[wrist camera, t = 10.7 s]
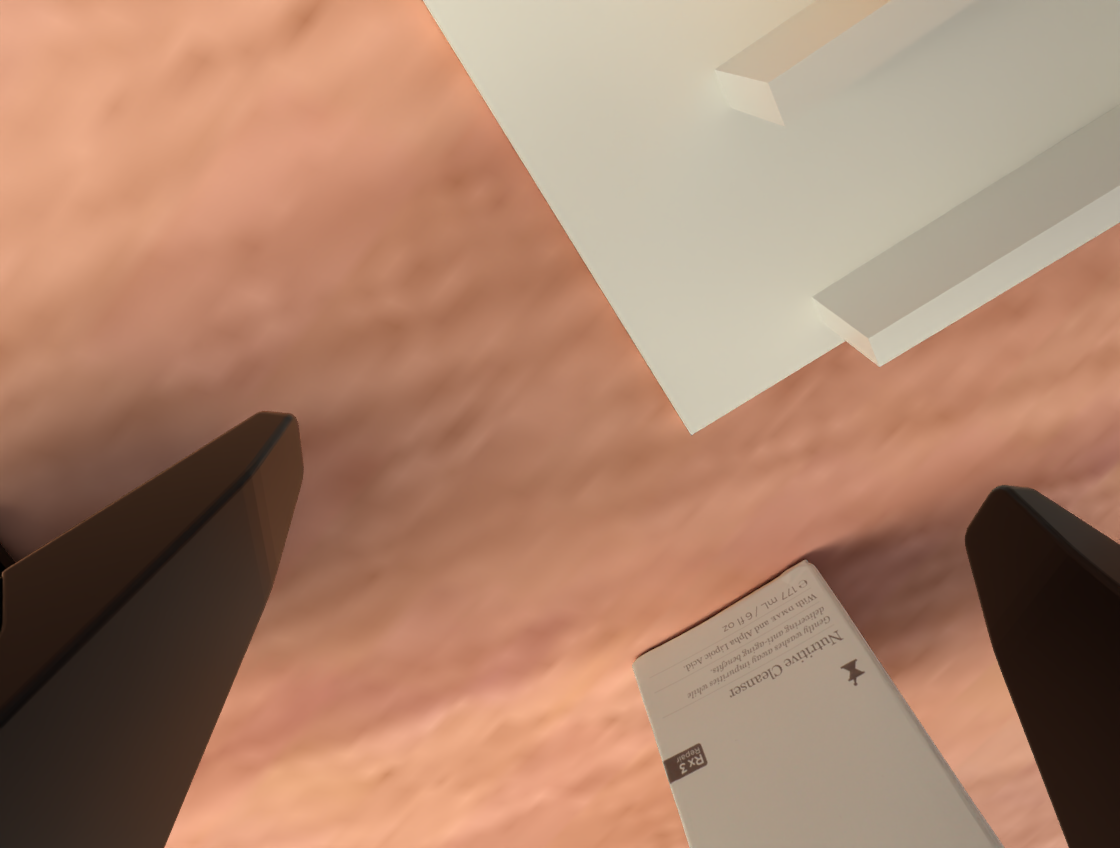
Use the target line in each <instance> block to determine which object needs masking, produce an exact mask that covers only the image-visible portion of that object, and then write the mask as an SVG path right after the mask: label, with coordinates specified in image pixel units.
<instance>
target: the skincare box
mask: <svg viewBox="0 0 1120 848" xmlns="http://www.w3.org/2000/svg"><path fill="white" fill-rule="evenodd" d="M632 667H633V671H634V674H635V677H636V680H637V683H638V687H639V690H640V693H641V696H642V699H643V702H644V705H645V708H646V711H647V714H648V717H649V721H650V724H651V727H652V730H653V733H654V736H655V740H656V743H657V747H658V750H659V753H660V756H661V759H662V762H663V766H664V769H665V772H666V775H667V778H668V781H669V784H670V787H671V790H672V794H673V797H674V800H675V803H676V806H677V809H678V812H679V815H680V818H681V821H682V825H683V828H684V831H685V834H686V837H687V841H688V844H689V847H690V848H1005V847H1004V846H1003V845H1002V843H1001V842H1000V840H999V839H998V837H997V836H996V834H995V833H994V831H993V830H992V829H991V827H990V826H989V824H988V823H987V821H986V820H985V818H984V817H983V815H982V814H981V813H980V811H979V810H978V808H977V807H976V805H975V804H974V802H973V801H972V799H971V798H970V796H969V795H968V793H967V792H966V790H965V789H964V787H963V786H962V784H961V783H960V781H959V780H958V778H957V777H956V775H955V774H954V772H953V771H952V769H951V768H950V766H949V765H948V763H947V762H946V760H945V759H944V757H943V756H942V754H941V753H940V751H939V750H938V748H937V747H936V745H935V744H934V742H933V741H932V739H931V738H930V736H929V735H928V733H927V732H926V730H925V729H924V727H923V726H922V724H921V723H920V721H919V720H918V718H917V717H916V715H915V714H914V712H913V711H912V710H911V708H910V707H909V705H908V704H907V702H906V701H905V699H904V698H903V696H902V695H901V693H900V692H899V690H898V689H897V687H896V686H895V684H894V683H893V681H892V680H891V678H890V677H889V675H888V674H887V672H886V671H885V669H884V668H883V666H882V665H881V663H880V662H879V660H878V659H877V657H876V656H875V654H874V652H873V651H872V649H871V648H870V646H869V645H868V643H867V642H866V640H865V639H864V637H863V636H862V634H861V633H860V631H859V630H858V628H857V627H856V625H855V624H854V622H853V621H852V619H851V618H850V616H849V615H848V613H847V612H846V610H845V609H844V607H843V606H842V604H841V603H840V601H839V600H838V598H837V597H836V595H835V594H834V593H833V591H832V590H831V588H830V587H829V585H828V584H827V582H826V581H825V580H824V578H823V577H822V575H821V574H820V572H819V571H818V569H817V568H816V567H815V566H814V565H813V564H811V563H809V562H808V561H807V560H803V561H802V562H800V563H798V564H796V565H794V566H793V567H791V568H789V569H787V570H786V571H784V572H783V573H782V574H781V575H780V576H779V577H777V578H776V579H774V580H772V581H771V582H769V583H767V584H766V585H764V586H762V587H761V588H759V589H758V590H756V591H754V592H753V593H751V594H749V595H748V596H746V597H744V598H743V599H741V600H739V601H738V602H736V603H735V604H733V605H731V606H730V607H728V608H726V609H725V610H723V611H721V612H720V613H718V614H717V615H715V616H713V617H712V618H710V619H708V620H707V621H705V622H703V623H701V624H700V625H698V626H696V627H694V628H693V629H691V630H689V631H687V632H685V633H683V634H682V635H680V636H678V637H676V638H674V639H672V640H670V641H668V642H667V643H665V644H663V645H661V646H659V647H657V648H655V649H653V650H651V651H649V652H647V653H645V654H644V655H642V656H640V657H639V658H637V659H636V660H635V662H634V663H633V665H632Z"/></svg>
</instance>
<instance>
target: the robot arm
mask: <svg viewBox="0 0 1120 848" xmlns="http://www.w3.org/2000/svg"><path fill="white" fill-rule="evenodd" d="M303 468H304V466H303V457H302V449H301V441H300V433H299V425H298V421H297V419H296V417H295V416H294V415H292V414H290V413H281V412H271V411H261V412H258V413H256V414H255V415H253V416H251V417H250V418H248V419H247V420H245V421H243V422H242V423H240V424H239V425H237V426H235V427H234V428H232V429H230V430H229V431H227V432H226V433H224V434H222V435H221V436H219V437H218V438H216V439H214V440H213V441H211V442H210V443H208V444H206V445H205V446H203V447H202V448H200V449H198V450H197V451H195V452H194V453H192V454H190V455H189V456H187V457H186V458H184V459H182V460H181V461H179V462H177V463H176V464H174V465H173V466H171V467H169V468H168V469H166V470H165V471H163V472H161V473H160V474H158V475H157V476H155V477H153V478H152V479H150V480H149V481H147V482H145V483H144V484H142V485H141V486H139V487H137V488H136V489H134V490H132V491H131V492H129V493H128V494H126V495H124V496H123V497H121V498H120V499H118V500H116V501H115V502H113V503H112V504H110V505H108V506H107V507H105V508H104V509H102V510H100V511H99V512H97V513H96V514H94V515H92V516H91V517H89V518H87V519H86V520H84V521H83V522H81V523H79V524H78V525H76V526H75V527H73V528H71V529H70V530H68V531H67V532H65V533H63V534H62V535H60V536H59V537H57V538H55V539H54V540H52V541H51V542H49V543H47V544H46V545H44V546H43V547H41V548H39V549H38V550H36V551H34V552H33V553H31V554H30V555H28V556H26V557H25V558H23V559H22V560H20V561H18V562H17V563H15V562H14V561H13V560H12V558H11V557H10V556H9V554H8V553H7V552H6V550H5V549H4V548H3V546H2V545H1V544H0V848H164V847H165V845H166V842H167V840H168V837H169V835H170V833H171V830H172V828H173V826H174V823H175V821H176V818H177V816H178V814H179V811H180V809H181V806H182V804H183V802H184V799H185V797H186V794H187V792H188V790H189V787H190V785H191V782H192V780H193V778H194V775H195V773H196V770H197V768H198V766H199V763H200V761H201V758H202V756H203V754H204V751H205V749H206V746H207V744H208V742H209V739H210V737H211V735H212V732H213V730H214V727H215V725H216V723H217V720H218V718H219V715H220V713H221V711H222V708H223V706H224V703H225V701H226V699H227V696H228V694H229V691H230V689H231V687H232V684H233V682H234V679H235V677H236V675H237V672H238V670H239V667H240V665H241V663H242V660H243V658H244V655H245V653H246V651H247V648H248V646H249V644H250V641H251V639H252V636H253V634H254V632H255V629H256V627H257V624H258V622H259V620H260V617H261V615H262V612H263V610H264V608H265V605H266V603H267V600H268V597H269V595H270V592H271V590H272V587H273V583H274V580H275V577H276V574H277V570H278V567H279V563H280V560H281V556H282V552H283V549H284V545H285V542H286V538H287V534H288V531H289V527H290V524H291V520H292V516H293V513H294V509H295V506H296V502H297V498H298V495H299V491H300V488H301V484H302V479H303ZM965 546H966V551H967V554H968V558H969V562H970V566H971V569H972V573H973V577H974V581H975V584H976V588H977V592H978V596H979V600H980V603H981V607H982V611H983V615H984V618H985V622H986V626H987V630H988V633H989V637H990V640H991V643H992V647H993V650H994V653H995V656H996V659H997V661H998V664H999V667H1000V670H1001V672H1002V675H1003V677H1004V680H1005V683H1006V685H1007V688H1008V690H1009V693H1010V696H1011V698H1012V701H1013V703H1014V706H1015V709H1016V711H1017V714H1018V716H1019V719H1020V722H1021V724H1022V727H1023V729H1024V732H1025V735H1026V737H1027V740H1028V742H1029V745H1030V748H1031V750H1032V753H1033V755H1034V758H1035V761H1036V763H1037V766H1038V768H1039V771H1040V774H1041V776H1042V779H1043V781H1044V784H1045V787H1046V789H1047V792H1048V794H1049V797H1050V800H1051V802H1052V805H1053V807H1054V810H1055V813H1056V815H1057V818H1058V820H1059V823H1060V826H1061V828H1062V831H1063V834H1064V836H1065V839H1066V841H1067V844H1068V847H1069V848H1120V545H1119V544H1118V543H1116V542H1115V541H1113V540H1112V539H1110V538H1109V537H1107V536H1105V535H1104V534H1102V533H1101V532H1099V531H1098V530H1096V529H1095V528H1093V527H1092V526H1090V525H1089V524H1087V523H1085V522H1084V521H1082V520H1081V519H1079V518H1078V517H1076V516H1075V515H1073V514H1072V513H1070V512H1068V511H1067V510H1065V509H1064V508H1062V507H1061V506H1059V505H1058V504H1056V503H1055V502H1053V501H1052V500H1050V499H1048V498H1047V497H1045V496H1044V495H1042V494H1041V493H1039V492H1038V491H1036V490H1034V489H1031V488H1028V487H1019V486H1009V485H1002V486H998V487H996V488H995V489H993V490H992V491H991V492H990V494H989V495H988V497H987V498H986V500H985V501H984V503H983V505H982V506H981V508H980V509H979V511H978V512H977V514H976V515H975V517H974V518H973V520H972V522H971V523H970V525H969V526H968V528H967V531H966V535H965Z"/></svg>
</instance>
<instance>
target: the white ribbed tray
mask: <svg viewBox="0 0 1120 848" xmlns="http://www.w3.org/2000/svg"><path fill="white" fill-rule="evenodd" d="M423 2H424V3H425V5H426V7H427V8H428V10H429V11H430V13H431V15H432V16H433V18H434V20H435V21H436V23H437V24H438V26H439V28H440V29H441V31H442V33H443V34H444V36H445V37H446V39H447V41H448V42H449V44H450V45H451V47H452V49H453V50H454V52H455V54H456V55H457V57H458V58H459V60H460V62H461V63H462V65H463V67H464V68H465V70H466V71H467V73H468V75H469V76H470V78H471V80H472V81H473V83H474V84H475V86H476V88H477V89H478V91H479V92H480V94H481V96H482V97H483V99H484V101H485V102H486V104H487V105H488V107H489V109H490V110H491V112H492V114H493V115H494V117H495V118H496V120H497V122H498V123H499V125H500V127H501V128H502V130H503V131H504V133H505V135H506V136H507V138H508V139H509V141H510V143H511V144H512V146H513V148H514V149H515V151H516V152H517V154H518V156H519V157H520V159H521V161H522V162H523V164H524V165H525V167H526V169H527V170H528V172H529V174H530V175H531V177H532V178H533V180H534V182H535V183H536V185H537V187H538V188H539V190H540V191H541V193H542V195H543V196H544V198H545V199H546V201H547V203H548V204H549V206H550V208H551V209H552V211H553V212H554V214H555V216H556V217H557V219H558V221H559V222H560V224H561V225H562V227H563V229H564V230H565V232H566V234H567V235H568V237H569V238H570V240H571V242H572V243H573V245H574V246H575V248H576V250H577V251H578V253H579V255H580V256H581V258H582V259H583V261H584V263H585V264H586V266H587V268H588V269H589V271H590V272H591V274H592V276H593V277H594V279H595V281H596V282H597V284H598V285H599V287H600V289H601V290H602V292H603V293H604V295H605V297H606V298H607V300H608V302H609V303H610V305H611V306H612V308H613V310H614V311H615V313H616V315H617V316H618V318H619V319H620V321H621V323H622V324H623V326H624V328H625V329H626V331H627V332H628V334H629V336H630V337H631V339H632V340H633V342H634V344H635V345H636V347H637V349H638V350H639V352H640V353H641V355H642V357H643V358H644V360H645V362H646V363H647V365H648V366H649V368H650V370H651V371H652V373H653V375H654V376H655V378H656V379H657V381H658V383H659V384H660V386H661V387H662V389H663V391H664V392H665V394H666V396H667V397H668V399H669V400H670V402H671V404H672V405H673V407H674V409H675V410H676V412H677V413H678V415H679V417H680V418H681V420H682V422H683V423H684V425H685V426H686V428H687V429H688V431H689V432H690V434H691V435H693V434H694V433H696V432H698V431H699V430H701V429H703V428H704V427H706V426H707V425H709V424H711V423H712V422H714V421H716V420H717V419H719V418H721V417H722V416H724V415H725V414H727V413H729V412H730V411H732V410H734V409H735V408H737V407H738V406H740V405H742V404H743V403H745V402H747V401H748V400H750V399H752V398H753V397H755V396H756V395H758V394H760V393H761V392H763V391H765V390H766V389H768V388H770V387H771V386H773V385H774V384H776V383H778V382H779V381H781V380H783V379H784V378H786V377H788V376H789V375H791V374H792V373H794V372H796V371H797V370H799V369H801V368H802V367H804V366H805V365H807V364H809V363H810V362H812V361H814V360H815V359H817V358H819V357H820V356H822V355H823V354H825V353H827V352H828V351H830V350H832V349H833V348H835V347H837V346H838V345H840V344H841V343H843V342H845V341H846V342H848V343H849V344H850V345H852V346H853V347H854V348H855V349H857V350H858V351H859V352H861V353H862V354H863V355H864V356H866V357H867V358H868V359H870V360H871V361H872V362H873V363H875V364H876V365H877V366H879V367H881V366H882V365H884V364H886V363H887V362H889V361H891V360H892V359H894V358H896V357H897V356H899V355H901V354H902V353H904V352H906V351H907V350H909V349H911V348H912V347H914V346H916V345H917V344H919V343H921V342H922V341H924V340H926V339H927V338H929V337H930V336H932V335H934V334H935V333H937V332H939V331H940V330H942V329H944V328H945V327H947V326H949V325H950V324H952V323H954V322H955V321H957V320H959V319H960V318H962V317H964V316H965V315H967V314H969V313H970V312H972V311H974V310H975V309H977V308H979V307H980V306H982V305H984V304H985V303H987V302H989V301H990V300H992V299H994V298H995V297H997V296H998V295H1000V294H1002V293H1003V292H1005V291H1007V290H1008V289H1010V288H1012V287H1013V286H1015V285H1017V284H1018V283H1020V282H1022V281H1023V280H1025V279H1027V278H1028V277H1030V276H1032V275H1033V274H1035V273H1037V272H1038V271H1040V270H1042V269H1043V268H1045V267H1047V266H1048V265H1050V264H1052V263H1053V262H1055V261H1057V260H1058V259H1060V258H1062V257H1063V256H1065V255H1066V254H1068V253H1070V252H1071V251H1073V250H1075V249H1076V248H1078V247H1080V246H1081V245H1083V244H1085V243H1086V242H1088V241H1090V240H1091V239H1093V238H1095V237H1096V236H1098V235H1100V234H1101V233H1103V232H1105V231H1106V230H1108V229H1110V228H1111V227H1113V226H1115V225H1116V224H1118V223H1120V0H423Z"/></svg>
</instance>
